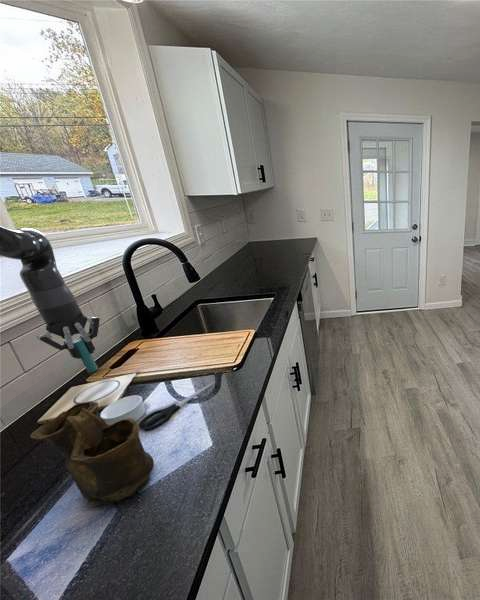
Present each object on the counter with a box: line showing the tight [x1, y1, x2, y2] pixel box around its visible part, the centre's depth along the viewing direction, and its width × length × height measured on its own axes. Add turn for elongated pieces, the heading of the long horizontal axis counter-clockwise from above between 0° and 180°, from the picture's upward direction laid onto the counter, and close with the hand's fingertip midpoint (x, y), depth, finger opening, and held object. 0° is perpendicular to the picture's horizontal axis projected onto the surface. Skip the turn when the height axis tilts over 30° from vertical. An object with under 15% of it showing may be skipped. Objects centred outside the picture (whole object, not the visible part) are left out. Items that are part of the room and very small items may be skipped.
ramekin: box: [99, 395, 146, 424], centre depth 85 cm, size 9×9×4 cm
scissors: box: [138, 381, 215, 432], centre depth 89 cm, size 7×1×20 cm
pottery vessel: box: [30, 401, 155, 507], centre depth 63 cm, size 25×11×20 cm, turn 65°
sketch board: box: [36, 372, 137, 425], centre depth 95 cm, size 18×16×1 cm
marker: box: [72, 338, 100, 375], centre depth 93 cm, size 2×2×11 cm
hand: (84, 355), depth 93 cm, fingers closed on marker, 2 cm apart
